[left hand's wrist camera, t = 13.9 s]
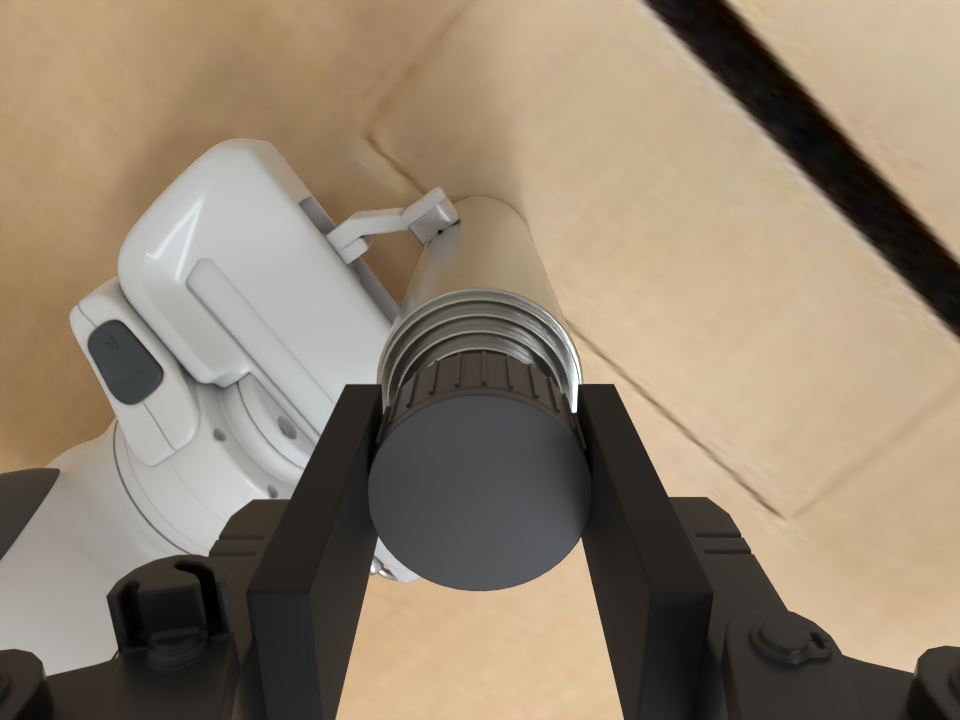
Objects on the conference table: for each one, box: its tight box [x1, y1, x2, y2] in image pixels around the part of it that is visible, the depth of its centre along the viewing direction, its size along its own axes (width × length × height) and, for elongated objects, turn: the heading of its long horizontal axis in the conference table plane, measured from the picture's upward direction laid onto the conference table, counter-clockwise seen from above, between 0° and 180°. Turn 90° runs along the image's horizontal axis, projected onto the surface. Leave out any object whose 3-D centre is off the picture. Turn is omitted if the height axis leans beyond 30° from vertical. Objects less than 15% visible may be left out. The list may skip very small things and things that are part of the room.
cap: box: [368, 351, 592, 591], centre depth 14 cm, size 4×4×2 cm
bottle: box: [376, 196, 583, 415], centre depth 24 cm, size 5×5×23 cm
